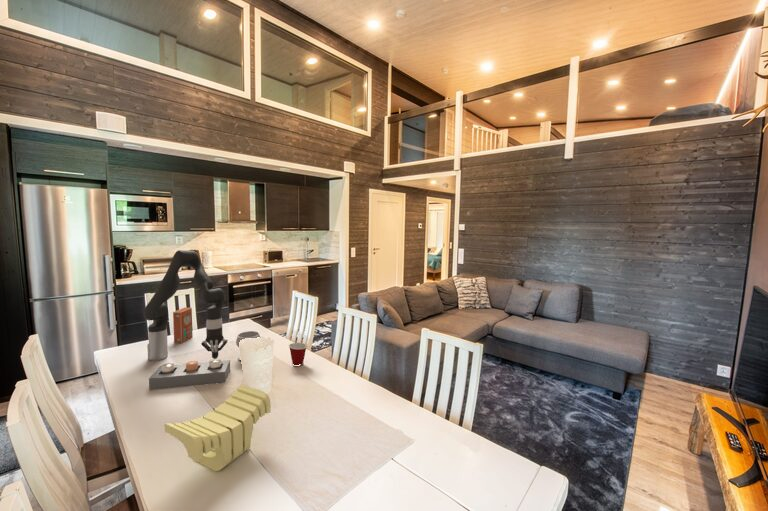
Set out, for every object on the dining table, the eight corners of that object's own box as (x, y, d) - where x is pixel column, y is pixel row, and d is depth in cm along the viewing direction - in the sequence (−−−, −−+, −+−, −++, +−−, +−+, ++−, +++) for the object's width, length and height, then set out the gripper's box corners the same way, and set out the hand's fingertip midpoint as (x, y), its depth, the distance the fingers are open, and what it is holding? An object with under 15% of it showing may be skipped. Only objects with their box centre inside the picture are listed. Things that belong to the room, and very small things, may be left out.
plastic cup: (310, 365, 193) (310, 346, 191) (292, 370, 186) (292, 349, 185) (303, 359, 201) (303, 340, 200) (286, 363, 195) (286, 343, 194)
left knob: (159, 377, 165) (159, 368, 165) (164, 372, 171) (163, 363, 170) (172, 376, 167) (172, 366, 166) (176, 371, 172) (175, 362, 172)
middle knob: (184, 375, 168) (184, 365, 168) (187, 370, 174) (187, 361, 173) (196, 374, 170) (196, 364, 170) (199, 369, 175) (199, 360, 175)
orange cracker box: (194, 336, 236) (181, 343, 221) (185, 336, 236) (171, 343, 221) (193, 307, 234) (180, 312, 219) (184, 306, 234) (170, 312, 219)
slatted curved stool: (198, 492, 101) (196, 438, 100) (166, 474, 108) (164, 423, 107) (270, 437, 128) (270, 393, 127) (241, 425, 135) (241, 384, 134)
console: (149, 390, 161) (148, 378, 160) (160, 376, 175) (160, 365, 174) (225, 382, 170) (225, 371, 169) (230, 370, 184) (229, 360, 184)
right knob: (208, 373, 172) (208, 363, 171) (210, 368, 177) (210, 359, 176) (220, 372, 173) (219, 363, 173) (222, 367, 178) (221, 358, 178)
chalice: (233, 363, 193) (233, 338, 192) (239, 354, 207) (238, 331, 205) (258, 362, 196) (258, 337, 194) (262, 353, 209) (262, 330, 208)
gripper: (229, 323, 178) (230, 354, 180) (202, 325, 174) (203, 356, 176) (226, 327, 171) (227, 359, 173) (198, 329, 167) (199, 362, 169)
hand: (215, 358), depth 174 cm, fingers closed
